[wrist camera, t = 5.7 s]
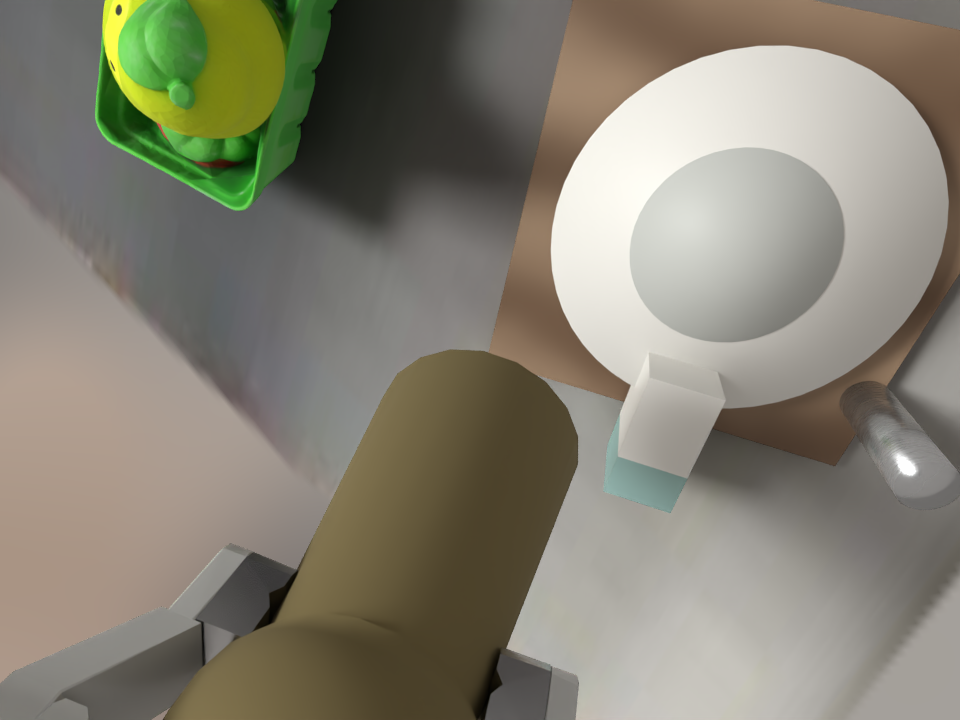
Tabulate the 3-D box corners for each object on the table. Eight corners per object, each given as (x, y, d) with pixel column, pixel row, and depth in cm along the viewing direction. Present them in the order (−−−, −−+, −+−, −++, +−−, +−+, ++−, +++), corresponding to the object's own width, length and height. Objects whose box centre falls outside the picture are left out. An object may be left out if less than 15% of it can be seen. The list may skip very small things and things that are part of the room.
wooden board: (586, -41, 21) (583, -48, 20) (1077, 59, 19) (1102, 58, 18) (491, 351, 29) (486, 361, 28) (828, 453, 27) (836, 468, 26)
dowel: (846, 365, 25) (913, 454, 19) (893, 378, 25) (976, 473, 19) (824, 402, 26) (881, 499, 20) (869, 415, 26) (941, 517, 19)
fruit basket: (220, -149, 23) (-104, -333, 13) (412, -46, 22) (234, -151, 13) (178, 126, 28) (-70, 146, 18) (332, 210, 28) (165, 276, 18)
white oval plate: (611, 9, 20) (606, -6, 17) (1023, 98, 19) (1104, 100, 15) (503, 412, 29) (486, 452, 26) (779, 499, 27) (798, 555, 24)
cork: (512, 314, 14) (261, 796, 5) (615, 491, 16) (577, 1103, 7) (342, 393, 17) (-37, 808, 7) (446, 539, 19) (245, 1026, 9)
